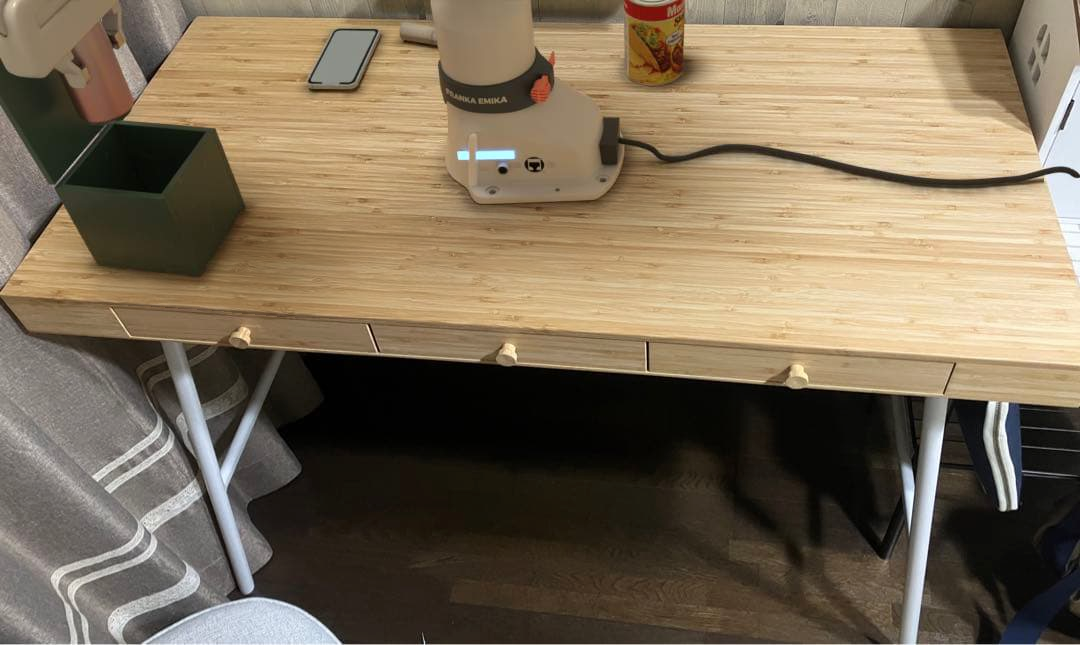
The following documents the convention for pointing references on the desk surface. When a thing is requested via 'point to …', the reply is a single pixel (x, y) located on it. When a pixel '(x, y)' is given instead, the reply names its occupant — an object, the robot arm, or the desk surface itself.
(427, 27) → the rod
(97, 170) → the dark green box
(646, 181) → the desk surface
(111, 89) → the beverage can
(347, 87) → the smartphone
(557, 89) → the robot arm
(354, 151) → the desk surface
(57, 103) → the lid
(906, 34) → the desk surface
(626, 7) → the canned food
